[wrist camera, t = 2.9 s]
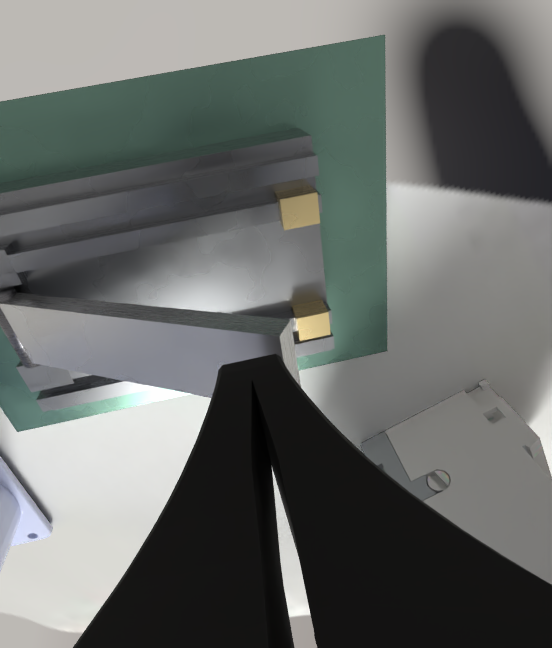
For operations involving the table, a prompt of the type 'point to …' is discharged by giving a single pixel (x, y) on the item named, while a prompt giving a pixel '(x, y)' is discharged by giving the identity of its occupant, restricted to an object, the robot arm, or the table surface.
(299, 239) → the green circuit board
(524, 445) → the circuit breaker
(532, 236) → the table surface
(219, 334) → the grey flat bar
